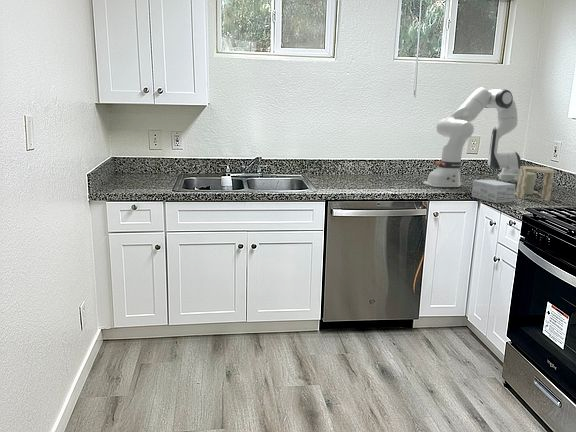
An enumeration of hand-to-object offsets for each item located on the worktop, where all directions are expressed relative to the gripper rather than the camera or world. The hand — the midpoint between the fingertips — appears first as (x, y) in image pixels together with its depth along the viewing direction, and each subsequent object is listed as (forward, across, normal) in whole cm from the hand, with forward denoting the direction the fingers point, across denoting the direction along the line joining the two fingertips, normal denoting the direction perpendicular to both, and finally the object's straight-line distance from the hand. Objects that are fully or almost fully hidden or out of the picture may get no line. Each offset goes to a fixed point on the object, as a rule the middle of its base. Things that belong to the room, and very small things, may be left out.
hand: (520, 179), depth 297 cm
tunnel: (+19, 0, +6) cm, 20 cm away
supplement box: (+35, -23, +6) cm, 42 cm away
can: (+11, 0, +6) cm, 13 cm away
